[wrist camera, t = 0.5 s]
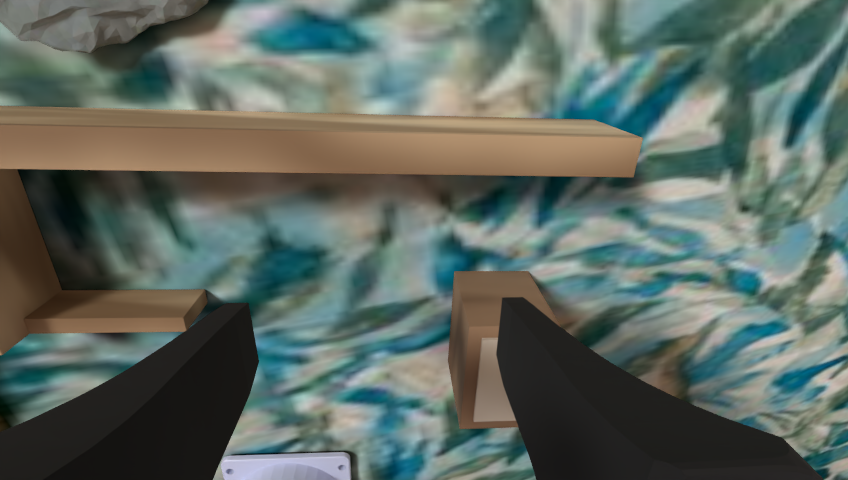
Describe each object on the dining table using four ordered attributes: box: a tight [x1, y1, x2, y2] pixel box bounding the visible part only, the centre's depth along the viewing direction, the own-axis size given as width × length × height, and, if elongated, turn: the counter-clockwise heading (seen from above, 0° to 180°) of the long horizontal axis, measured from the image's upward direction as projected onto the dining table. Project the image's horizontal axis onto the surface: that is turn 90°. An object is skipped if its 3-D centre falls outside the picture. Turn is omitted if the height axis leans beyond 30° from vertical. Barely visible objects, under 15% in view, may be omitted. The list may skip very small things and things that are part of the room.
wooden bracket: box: [0, 106, 643, 355], centre depth 19 cm, size 10×28×4 cm, turn 88°
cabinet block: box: [448, 271, 560, 429], centre depth 22 cm, size 6×4×5 cm, turn 178°
